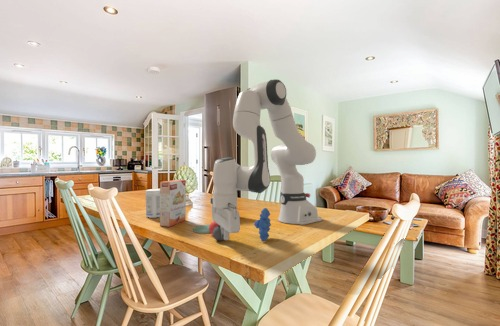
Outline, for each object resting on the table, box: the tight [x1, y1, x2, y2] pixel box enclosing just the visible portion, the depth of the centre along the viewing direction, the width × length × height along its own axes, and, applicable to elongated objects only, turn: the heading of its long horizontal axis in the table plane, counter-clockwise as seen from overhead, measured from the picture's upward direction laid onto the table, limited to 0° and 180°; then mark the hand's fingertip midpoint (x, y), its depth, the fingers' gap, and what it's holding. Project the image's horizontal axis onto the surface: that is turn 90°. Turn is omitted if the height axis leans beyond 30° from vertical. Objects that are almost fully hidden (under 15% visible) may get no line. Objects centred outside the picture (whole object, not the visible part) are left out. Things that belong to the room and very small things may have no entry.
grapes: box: [253, 207, 272, 242], centre depth 96 cm, size 12×7×12 cm, turn 168°
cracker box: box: [159, 179, 187, 228], centre depth 122 cm, size 14×6×21 cm, turn 164°
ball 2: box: [212, 226, 225, 241], centre depth 96 cm, size 6×6×6 cm
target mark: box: [192, 223, 211, 235], centre depth 111 cm, size 14×14×1 cm
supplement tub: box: [145, 188, 160, 219], centre depth 137 cm, size 10×10×15 cm
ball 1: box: [208, 221, 220, 235], centre depth 103 cm, size 6×6×6 cm
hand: (225, 238), depth 92 cm, fingers closed
